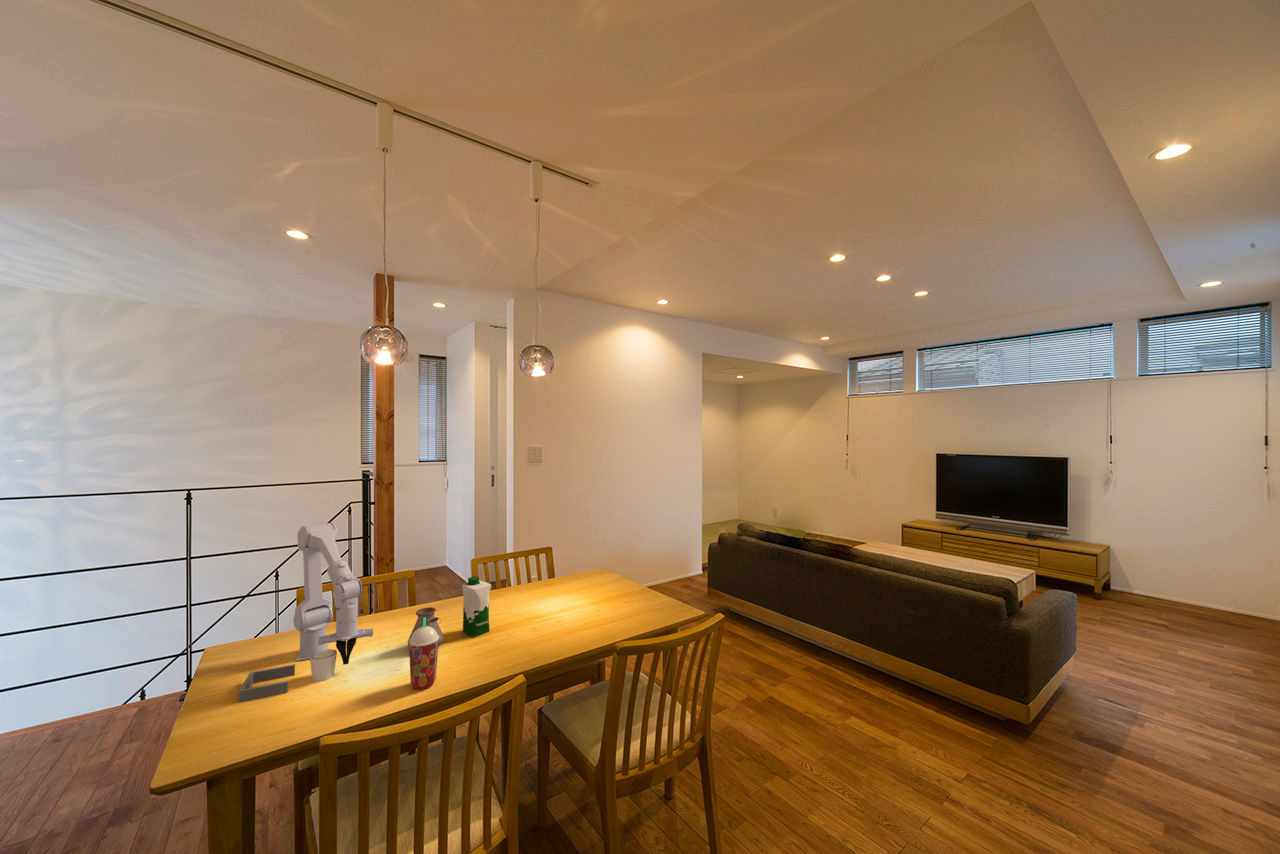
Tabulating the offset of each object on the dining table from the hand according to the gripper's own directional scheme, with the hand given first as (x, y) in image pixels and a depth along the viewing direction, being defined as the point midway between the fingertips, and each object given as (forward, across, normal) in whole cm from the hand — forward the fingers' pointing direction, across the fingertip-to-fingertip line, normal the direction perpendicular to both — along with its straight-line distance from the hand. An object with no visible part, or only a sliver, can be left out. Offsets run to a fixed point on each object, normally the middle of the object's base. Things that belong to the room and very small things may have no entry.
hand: (346, 663), depth 147 cm
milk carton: (+3, +41, +13) cm, 43 cm away
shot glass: (+3, -6, 0) cm, 7 cm away
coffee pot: (+3, +24, +3) cm, 24 cm away
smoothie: (+3, +21, -19) cm, 29 cm away
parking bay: (+3, -19, 0) cm, 19 cm away
